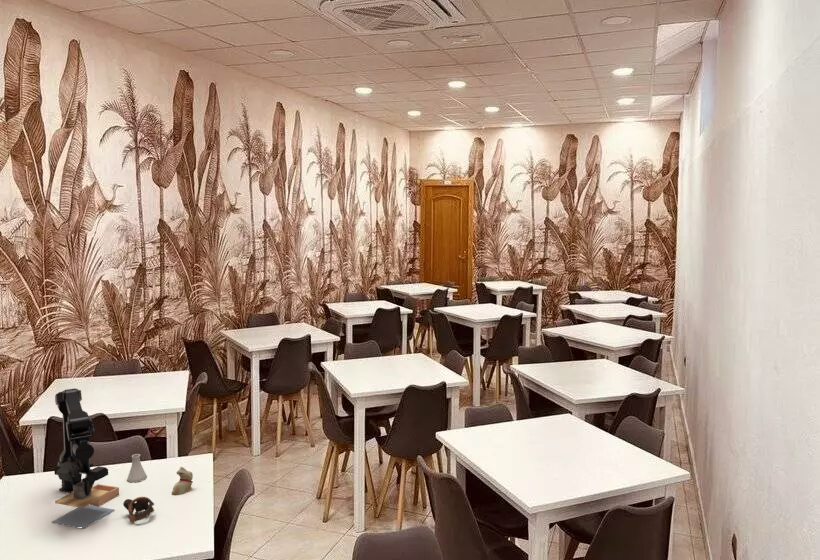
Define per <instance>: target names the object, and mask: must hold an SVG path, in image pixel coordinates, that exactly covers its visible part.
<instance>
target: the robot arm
mask: <svg viewBox="0 0 820 560" xmlns="http://www.w3.org/2000/svg"><path fill="white" fill-rule="evenodd" d="M82 400H83V398H82V390H81V389H79V388H68V389H67V388H66V389H64V390H62V391H59V392H57V393H55V396H54V402H55V405H56V406H57V408H58V410H59V413H60V414H62V429H63V430H62V433H63V436H62V437H63V451H62V452H61V453H60V455H59V461H58V462H57V465H56V466H55V468H54V475H56V476H57V477H58V479H59V480H61V487H59V488H58V491H61V492H65V493H72V492H73V485H75V484H77V483H79V482H81V481H83V482H84V487H85V494H86V496H87V495H89V493H90V491H91V489H92V487H93V486H94V485H95V482H97V481H99V480H101V479H103V478H105V477H107V476H109V468H107V467H106V466H105V467H104V466H101V465H100V466H99V465H98V466H96V467H94V468H92V467H93V466H94V464H93V463H92V462H91V458H92V457H93V456H94V454H95V453H94V452H95V449H94V446H93V445H92V443H91V442H90V438H93V437H95V435H94V434H95V432H96V431H95V425H94V420H92V418H91V417H90V415H89V414H88V412H87V411H85V410H83V408H82V404H81V402H82ZM82 475H85V476H84V477H83V476H82Z"/></svg>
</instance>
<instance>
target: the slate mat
mask: <svg viewBox="0 0 820 560" xmlns="http://www.w3.org/2000/svg"><path fill="white" fill-rule="evenodd" d="M114 511H115V509H114V508H113V509H112V508H108V507H103V506H94V505H88V506H86V507H84V508H79V507H75V508H73V509H72V510H70V511H68V512H67V513H65V514H63V515H61V516H59V517H58V518H56V519H53V520H52V521H51V522H52V523H51V524H56V523H58V524H57V525H61V524H64V525H63V526H66V525H70V526H69V527H72V526H75V527H74V528H77V527H82V528H84V529H86V528H87V527H89V526H91V525H93V524H94V523H95V522H97V520H98V521H99V520H101V519H103V518H105V517H106V516H108V515H109V514H111V513H112V512H114ZM90 524H91V525H90ZM88 525H89V526H88ZM86 526H87V527H86ZM85 527H86V528H85ZM82 528H81V529H82Z"/></svg>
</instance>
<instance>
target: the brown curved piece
mask: <svg viewBox="0 0 820 560" xmlns="http://www.w3.org/2000/svg"><path fill="white" fill-rule="evenodd" d="M154 505H155V502H153V501H152V500H151V499H150V498H149V497H147V496H138V497H136V498H134V499H130V498H129V499H128V498H126V499H125V500H124V501H123V507H124V509H126V510H127V511H128V515H129V516H130V517H129V521H130V523H132V524H135V522H138V521H141V520H143V519H146V518H147V517H148V516H150V515H151V514H152V513H153V512H155V509H154ZM134 511H135V512H134Z"/></svg>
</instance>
